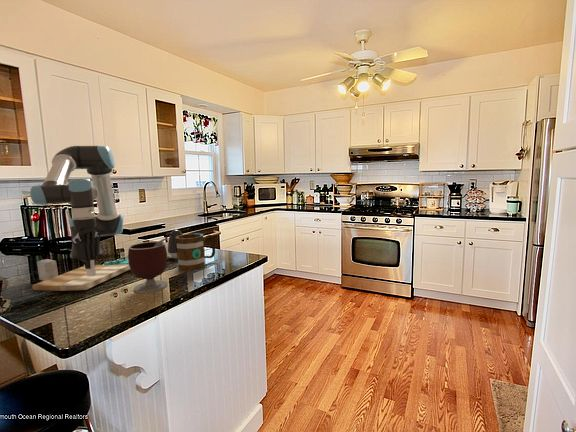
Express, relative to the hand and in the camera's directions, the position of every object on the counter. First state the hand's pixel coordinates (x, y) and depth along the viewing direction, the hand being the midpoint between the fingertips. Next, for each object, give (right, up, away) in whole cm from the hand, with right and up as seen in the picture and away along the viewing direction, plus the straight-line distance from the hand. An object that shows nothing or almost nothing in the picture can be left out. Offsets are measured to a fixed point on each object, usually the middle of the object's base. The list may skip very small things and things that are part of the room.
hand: (91, 275), depth 126 cm
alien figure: (-1, 0, +38) cm, 38 cm away
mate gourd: (+26, -4, -2) cm, 26 cm away
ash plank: (-3, -3, +10) cm, 11 cm away
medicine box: (-26, -4, +12) cm, 29 cm away
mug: (+36, 0, +26) cm, 44 cm away
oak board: (-15, -4, +12) cm, 20 cm away
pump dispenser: (+20, +2, +43) cm, 47 cm away
